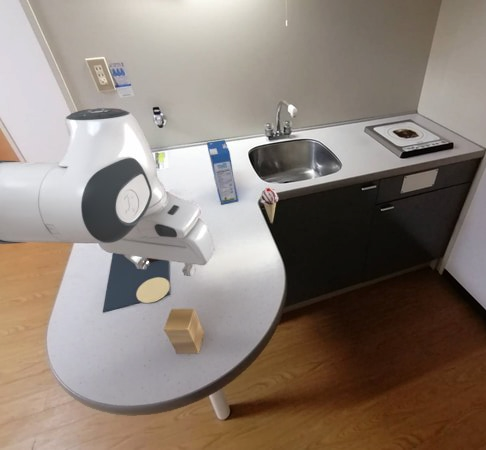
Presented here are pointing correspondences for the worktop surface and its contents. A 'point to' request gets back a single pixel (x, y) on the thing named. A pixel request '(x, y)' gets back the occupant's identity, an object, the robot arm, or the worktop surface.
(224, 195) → the milk carton
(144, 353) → the worktop surface
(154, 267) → the pattern mat
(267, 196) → the ice cream cone
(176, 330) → the brass rectangular block
